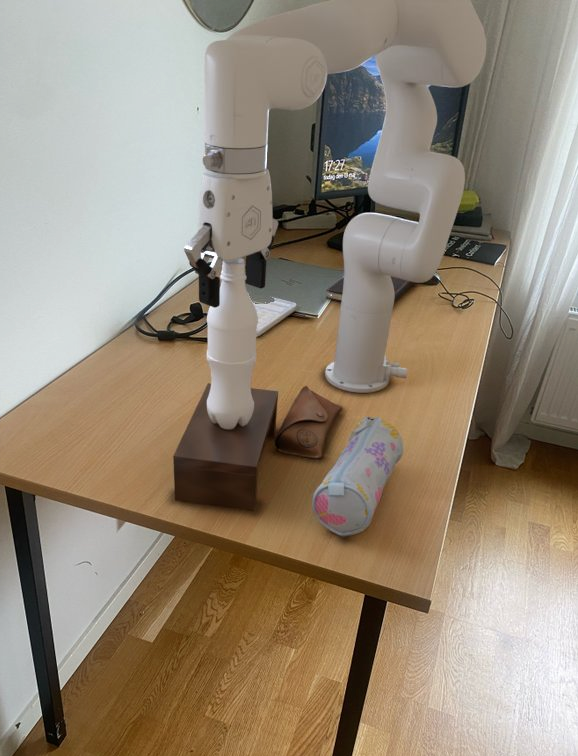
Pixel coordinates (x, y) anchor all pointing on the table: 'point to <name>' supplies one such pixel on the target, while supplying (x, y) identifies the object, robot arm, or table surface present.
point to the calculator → (272, 313)
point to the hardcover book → (398, 284)
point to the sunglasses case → (307, 425)
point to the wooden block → (224, 455)
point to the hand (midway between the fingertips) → (232, 294)
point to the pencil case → (358, 477)
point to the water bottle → (231, 349)
